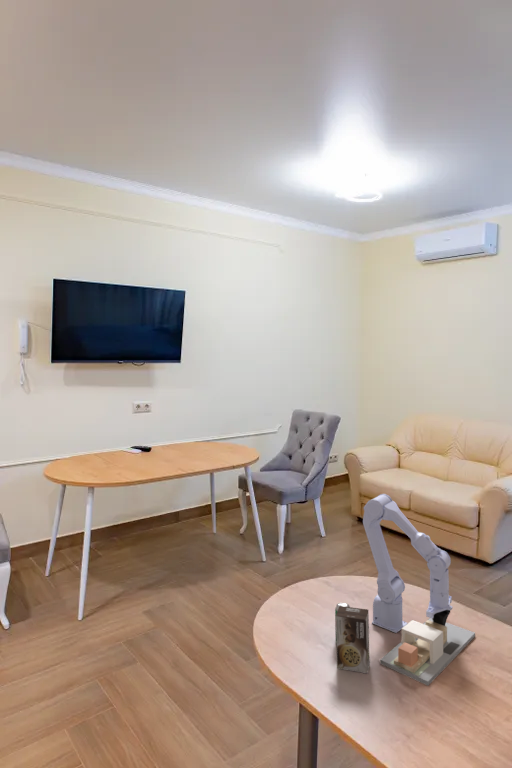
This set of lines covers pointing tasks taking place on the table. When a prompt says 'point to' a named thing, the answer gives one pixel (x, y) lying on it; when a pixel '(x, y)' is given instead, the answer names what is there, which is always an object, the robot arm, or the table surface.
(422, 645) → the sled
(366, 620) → the cookie box
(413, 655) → the block
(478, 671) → the table surface
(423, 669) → the plate
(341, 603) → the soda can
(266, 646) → the table surface
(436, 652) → the tunnel
